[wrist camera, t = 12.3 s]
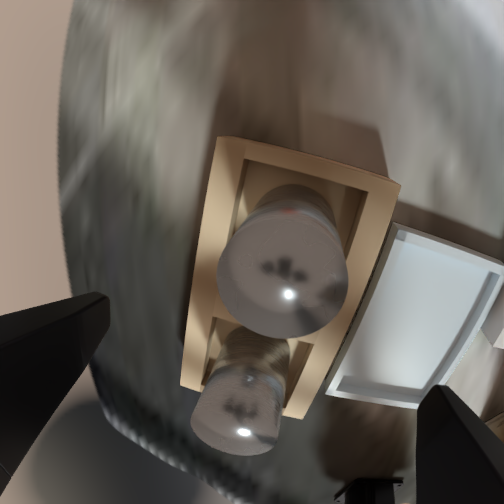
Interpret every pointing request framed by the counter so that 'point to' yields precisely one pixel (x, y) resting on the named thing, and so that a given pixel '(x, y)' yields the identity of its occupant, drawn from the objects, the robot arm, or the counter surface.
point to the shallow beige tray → (233, 215)
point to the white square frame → (495, 322)
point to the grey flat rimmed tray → (414, 319)
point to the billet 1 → (285, 265)
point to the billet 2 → (244, 394)
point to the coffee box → (497, 426)
